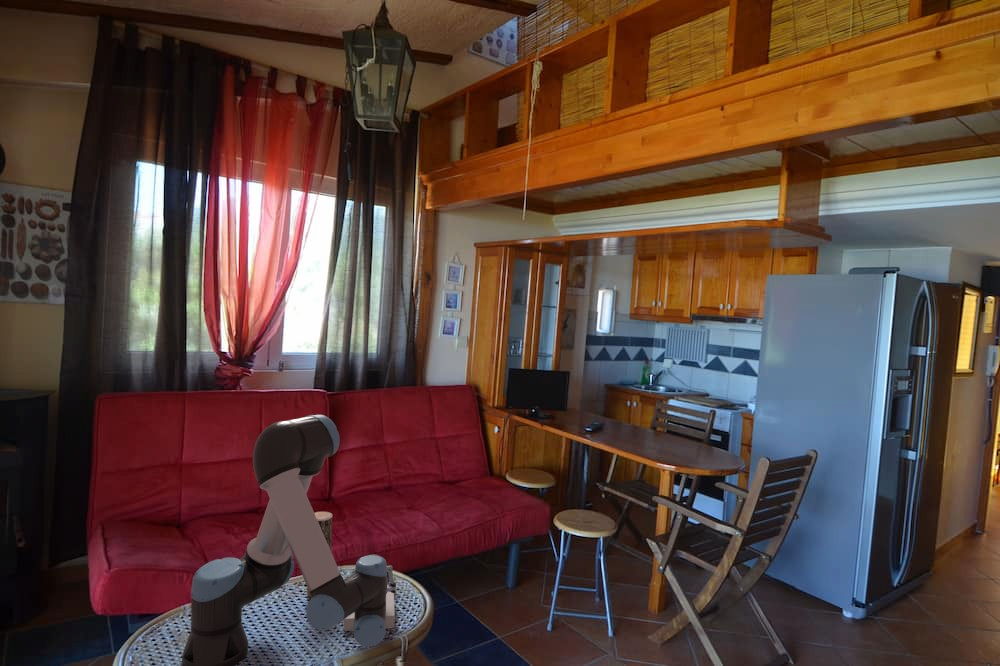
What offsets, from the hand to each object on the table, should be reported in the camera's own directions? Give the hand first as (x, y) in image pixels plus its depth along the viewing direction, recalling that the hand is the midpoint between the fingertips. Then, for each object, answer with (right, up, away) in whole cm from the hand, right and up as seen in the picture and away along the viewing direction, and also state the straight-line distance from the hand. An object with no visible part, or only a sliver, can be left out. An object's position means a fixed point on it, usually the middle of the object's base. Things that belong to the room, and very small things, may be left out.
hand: (372, 563), depth 174 cm
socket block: (0, -14, -4) cm, 15 cm away
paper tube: (-19, -13, +7) cm, 24 cm away
